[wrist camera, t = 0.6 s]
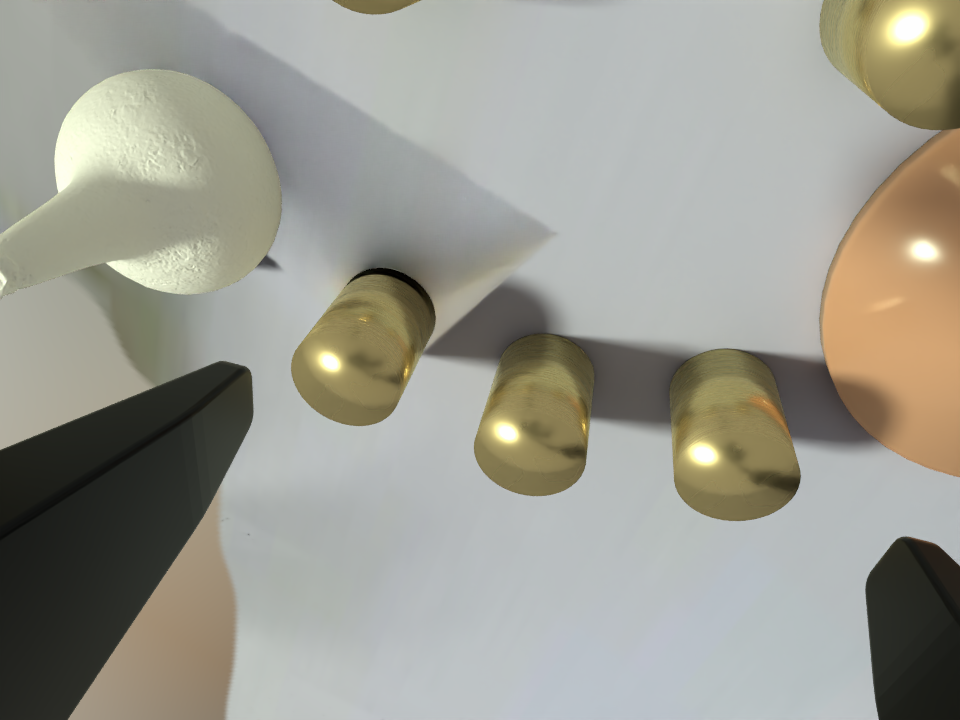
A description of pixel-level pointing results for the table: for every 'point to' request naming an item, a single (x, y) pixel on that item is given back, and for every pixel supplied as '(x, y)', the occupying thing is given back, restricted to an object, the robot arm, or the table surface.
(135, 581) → the robot arm
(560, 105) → the table surface
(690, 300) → the table surface
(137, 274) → the cream white mushroom
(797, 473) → the spacer field
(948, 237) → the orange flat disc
